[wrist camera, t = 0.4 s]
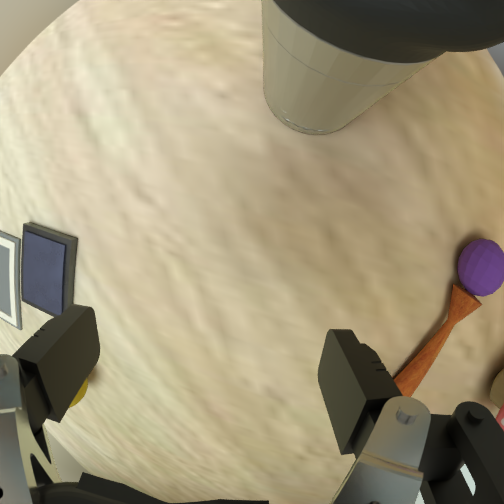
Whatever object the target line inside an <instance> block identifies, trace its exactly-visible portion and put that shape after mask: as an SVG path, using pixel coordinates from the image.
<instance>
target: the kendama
mask: <svg viewBox="0 0 504 504" xmlns="http://www.w3.org/2000/svg"><path fill="white" fill-rule="evenodd" d="M457 270H458V275H459V280H460V282H461V283H462V285H463V286H464V288H465V289H464V288H461V287H459V286H457V285H455V284H453V289H452V296H451V302H450V308H449V313H448V319H447V320H446V322H445V323H444V324H443V325H442V327H441V328H440V329H439V330H438V331H437V333H436V334H435V335H434V336H433V337H432V339H431V340H430V341H429V342H428V343H427V344H426V346H425V347H424V348H423V349H422V350H421V351H420V352H419V353H418V354H417V356H416V357H415V358H414V359H413V360H412V361H411V362H410V363H409V364H408V365H407V366H406V367H405V368H404V369H403V371H402V372H401V373H400V374H399V375H398V376H397V377H396V378H395V379H394V382H395V383H396V385H397V387H398V388H399V390H400V391H401V393H402V395H403V396H406V397H411V396H412V394H413V393H414V391H415V390H416V388H417V387H418V385H419V384H420V382H421V381H422V379H423V378H424V376H425V375H426V373H427V372H428V370H429V368H430V367H431V365H432V364H433V362H434V360H435V359H436V357H437V355H438V354H439V352H440V350H441V348H442V347H443V345H444V343H445V341H446V340H447V338H448V336H449V334H450V332H451V330H452V329H453V327H454V325H455V324H456V323H458V322H459V321H460V320H462V319H463V318H465V317H466V316H467V315H469V314H470V313H472V312H473V311H474V310H476V309H477V308H478V307H480V306H481V305H482V304H481V303H480V301H479V300H478V299H477V298H476V297H475V296H474V295H477V296H482V297H483V296H486V295H490V294H493V293H494V292H495V291H496V290H497V289H498V288H500V287H501V285H502V283H503V281H504V253H503V251H502V250H501V248H500V247H499V245H498V244H497V243H495V242H494V241H492V240H486V239H478V240H475V241H472V242H471V243H470V244H468V245H467V246H466V247H465V248H464V249H463V251H462V253H461V255H460V257H459V262H458V269H457Z"/></svg>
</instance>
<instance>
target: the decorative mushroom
mask: <svg viewBox="0 0 504 504" xmlns="http://www.w3.org/2000/svg"><path fill="white" fill-rule="evenodd" d="M490 399H491V401H492V402H493V403H494V404H495V405H496V406H497V407H498V408H499V409H500V410H499V412H498V415H497V417H496V421H497V422H498V423H499V425H500V426H501V428H502V429H503V431H504V369H503V370H502V371H500V372H499V373H498V375H497V376H496V378H495V380H494V381H493V384H492V387H491V392H490Z"/></svg>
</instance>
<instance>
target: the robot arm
mask: <svg viewBox="0 0 504 504" xmlns="http://www.w3.org/2000/svg"><path fill="white" fill-rule="evenodd" d="M261 2H262V29H263V81H264V94H265V99H266V101H267V103H268V106H269V108H270V109H271V111H272V112H273V113H274V115H275V116H276V117H277V118H278V119H279V120H280V121H281V122H282V123H284V124H285V125H287V126H289V127H290V128H292V129H294V130H297V131H299V132H302V133H307V134H327V133H332V132H334V131H337V130H339V129H341V128H343V127H344V126H345V125H347V124H348V123H349V122H351V121H352V120H353V119H355V118H356V117H358V116H359V115H360V114H362V113H363V112H364V111H365V110H367V109H368V108H369V107H371V106H372V105H373V104H375V103H376V102H377V101H379V100H380V99H381V98H383V97H384V96H385V95H387V94H388V93H389V92H391V91H392V90H393V89H395V88H396V87H398V86H399V85H400V84H402V83H403V82H404V81H406V80H407V79H408V78H410V77H411V76H412V75H414V74H415V73H416V72H418V71H419V70H420V69H422V68H423V67H425V66H426V65H427V64H429V63H430V62H432V61H433V60H434V59H436V58H437V57H439V56H440V55H441V54H443V53H444V52H446V51H448V52H469V51H477V50H482V49H486V48H489V47H492V46H495V45H497V44H500V43H503V42H504V0H261ZM99 355H100V343H99V337H98V331H97V324H96V318H95V312H94V310H93V308H92V307H88V306H82V305H76V304H72V305H70V306H69V307H68V308H67V309H66V310H65V311H64V312H63V313H62V314H61V315H58V316H56V317H54V318H52V319H50V320H48V321H47V322H46V323H45V324H44V325H43V326H42V327H41V328H40V330H38V331H37V332H36V333H34V336H31V337H30V338H29V339H28V340H27V341H26V342H25V343H24V344H23V345H22V346H21V347H20V348H19V349H18V350H17V351H16V352H15V353H14V354H13V355H12V356H10V355H6V354H0V504H269V501H251V500H225V499H218V500H210V501H200V502H188V503H167V502H164V501H161V500H159V499H156V498H154V497H151V496H149V495H147V494H144V493H142V492H140V491H138V490H135V489H133V488H131V487H129V486H127V485H125V484H122V483H118V482H114V481H111V480H107V479H103V478H100V477H97V476H94V475H90V474H87V473H84V472H83V473H82V475H81V478H80V480H79V482H62V481H61V478H60V476H59V474H58V471H57V468H56V465H55V461H54V458H53V454H52V451H51V447H50V443H49V439H48V436H47V431H46V428H45V426H44V424H43V423H44V422H45V420H46V418H47V419H50V420H53V421H56V422H58V423H60V421H61V420H62V418H63V416H64V415H65V413H66V411H67V410H68V408H69V406H70V405H71V403H72V401H73V400H74V398H75V396H76V395H77V393H78V391H79V390H80V388H81V387H82V385H83V383H84V382H85V380H86V379H87V377H88V375H89V374H90V372H91V371H92V369H93V368H94V366H95V365H96V363H97V361H98V359H99ZM318 382H319V386H320V389H321V392H322V395H323V398H324V402H325V405H326V408H327V411H328V414H329V417H330V421H331V424H332V427H333V430H334V433H335V437H336V440H337V443H338V446H339V450H340V453H341V455H344V454H352V453H354V455H355V458H356V460H355V462H354V464H353V465H352V467H351V469H350V471H349V472H348V474H347V476H346V477H345V479H344V481H343V482H342V484H341V486H340V487H339V489H338V491H337V492H336V494H335V495H334V497H333V498H332V500H331V502H330V503H329V504H415V501H416V498H417V495H418V492H419V489H420V492H421V495H422V497H423V500H424V503H425V504H504V431H503V429H502V428H501V426H500V425H499V423H498V422H497V421H496V419H495V418H494V416H493V415H492V414H491V412H490V411H489V410H488V409H487V408H486V407H484V406H483V405H481V404H479V403H476V402H470V401H467V402H463V403H460V404H459V405H458V406H457V407H456V409H455V411H454V412H453V414H452V415H438V414H430V411H429V410H428V408H427V407H426V406H425V405H424V404H423V403H422V402H420V401H419V400H417V399H414V398H411V397H406V396H403V395H402V393H401V391H400V390H399V388H398V387H397V385H396V383H395V382H394V380H393V379H392V377H391V375H390V374H389V372H388V371H386V367H385V366H384V364H383V363H381V360H380V358H379V356H378V355H377V353H376V352H375V351H374V350H373V349H371V348H370V347H369V346H367V345H366V344H365V343H364V344H360V342H359V341H358V339H357V337H356V336H355V334H354V332H353V331H352V330H350V329H330V330H329V331H328V332H327V335H326V339H325V343H324V348H323V352H322V356H321V360H320V364H319V368H318ZM464 464H466V466H467V468H468V470H469V472H470V473H471V476H472V478H473V480H474V482H475V485H476V489H475V494H474V496H473V495H472V493H471V491H470V489H469V487H468V485H467V483H466V481H465V479H464V477H463V474H462V472H461V470H460V468H461V467H462V466H463V465H464Z"/></svg>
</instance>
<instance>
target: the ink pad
mask: <svg viewBox="0 0 504 504" xmlns="http://www.w3.org/2000/svg"><path fill="white" fill-rule="evenodd" d="M77 241H78V238H75V237H72V236H69V235H66V234H63V233H60V232H57V231H54V230H51V229H48V228H45V227H42V226H39V225H36V224H33V223H30V222H29V223H24V224H23V236H22V257H21V294H22V301H23V302H25V303H27V304H29V305H31V306H33V307H35V308H37V309H39V310H41V311H43V312H45V313H47V314H49V315H51V316H53V317H56V316H58V315H61V314H62V313H63V312H64V311H65V310H66V309H67V308H68V307H69V306H70V305H72V304H73V290H74V273H75V261H76V250H77Z"/></svg>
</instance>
